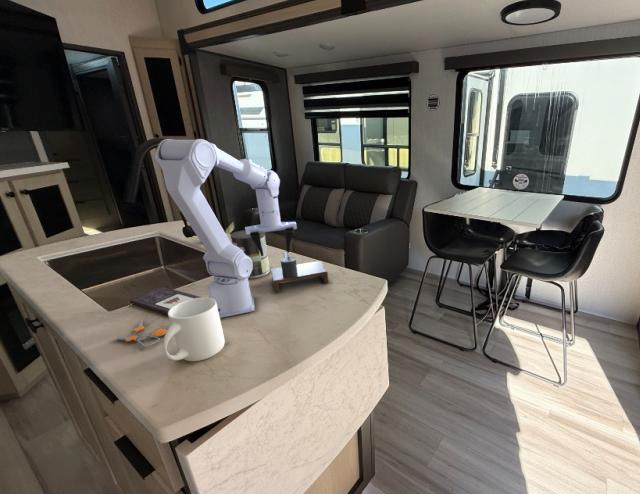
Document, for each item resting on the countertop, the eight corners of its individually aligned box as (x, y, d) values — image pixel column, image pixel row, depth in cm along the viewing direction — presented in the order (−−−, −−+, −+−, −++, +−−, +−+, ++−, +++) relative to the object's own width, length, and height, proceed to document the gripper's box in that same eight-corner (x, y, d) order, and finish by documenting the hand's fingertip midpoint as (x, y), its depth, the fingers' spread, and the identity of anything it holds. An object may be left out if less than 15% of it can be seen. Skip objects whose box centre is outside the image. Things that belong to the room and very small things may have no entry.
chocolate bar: (163, 286, 96) (203, 297, 90) (163, 289, 97) (204, 300, 90) (129, 299, 89) (171, 313, 82) (130, 302, 89) (172, 316, 82)
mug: (154, 369, 64) (139, 323, 60) (204, 335, 75) (194, 295, 71) (188, 377, 62) (174, 331, 58) (234, 341, 73) (225, 300, 69)
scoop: (298, 276, 97) (296, 260, 95) (283, 278, 95) (281, 263, 93) (294, 265, 105) (292, 251, 103) (280, 267, 103) (278, 253, 101)
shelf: (275, 292, 95) (273, 280, 94) (272, 280, 104) (270, 268, 102) (328, 282, 102) (327, 271, 100) (321, 271, 110) (320, 260, 109)
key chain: (176, 333, 75) (175, 330, 75) (141, 351, 69) (140, 348, 69) (144, 321, 80) (143, 318, 80) (109, 336, 74) (108, 333, 74)
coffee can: (249, 281, 102) (241, 240, 98) (231, 274, 108) (223, 234, 103) (276, 271, 110) (271, 232, 105) (259, 264, 116) (253, 227, 111)
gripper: (292, 206, 102) (297, 246, 107) (242, 210, 96) (249, 252, 101) (295, 210, 96) (300, 252, 101) (242, 215, 90) (250, 259, 95)
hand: (275, 253), depth 100 cm, fingers open, 7 cm apart
